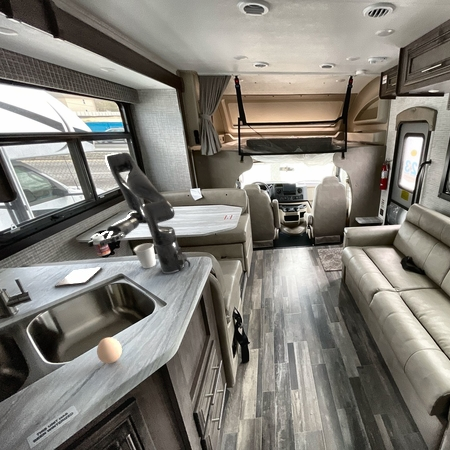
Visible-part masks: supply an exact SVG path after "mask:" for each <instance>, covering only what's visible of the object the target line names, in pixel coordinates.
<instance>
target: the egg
mask: <svg viewBox="0 0 450 450" xmlns="http://www.w3.org/2000/svg"><path fill="white" fill-rule="evenodd" d="M122 348H123V347H122V345H121V343H120V341H118V340H117V339H116V338H113V337H104V338H102V339H101V340H100V341H99V343H98V344H97V348H96V354H97V355H96V356H97V358H98V359H99V360H100V362H102V363H104V364H113V363H115V362H117V361H118V360H119V359H120V357H121V355H122V353H123V349H122Z"/></svg>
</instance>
